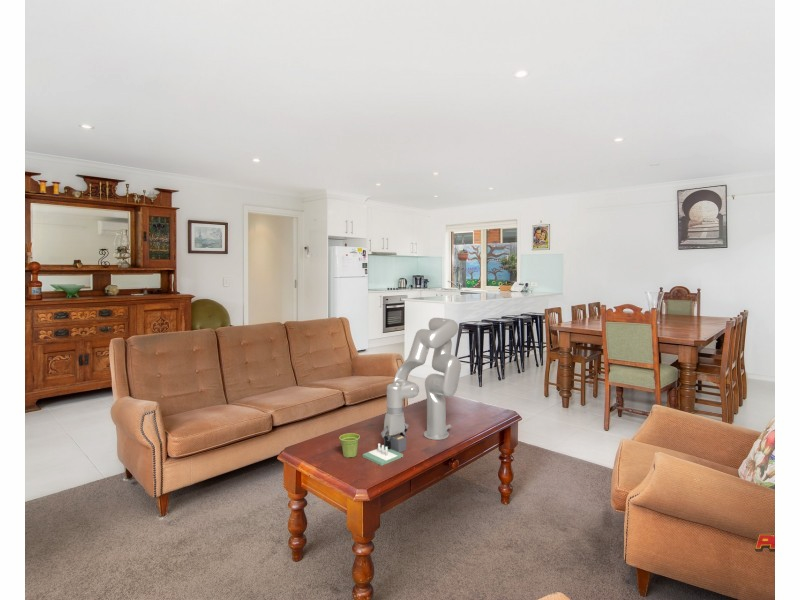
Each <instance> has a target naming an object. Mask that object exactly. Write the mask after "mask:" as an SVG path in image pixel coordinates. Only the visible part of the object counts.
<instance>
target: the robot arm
mask: <svg viewBox="0 0 800 600" xmlns="http://www.w3.org/2000/svg"><path fill="white" fill-rule="evenodd" d="M458 330H459V325H458V323H457V321H456V320H453V319H450V318H443V317H432V318H430V319H429V321H428V329H426V328H421V329H418V330H417V331H416V332H415V335H414V338H413V341H412V345H411V348H410V351H409V354H408V357H407V359H405V360H404V361H403V363H402V364H401V365H400V366H399V367H398V368H397V370H396V372H395V375H394V378H393V380H392V381H393V382H391V383H388V384H387V385H386V413H385V416H384V419H383V420H384V421H383V424H384V425H383V430H382V431H381V432H380V435H381V437H382V439H383V441H384V440H385V447H386V446H387V447H388V449H391V441H390V439H391V436H393V435H396V434H398V435H401V436H404V437H406V435H407V431H408V428H409V424H408V423H406V418H405V414H404V413H405V412H404V407H405V406H404V401H403V400H404V399H413V398H415V397H417V396H418V395H419V393H420V388H419V387H420V386H419V385H418V384H417V383H416V382H413V381H411V380H407V379H408V376H409V375H410V373H411V372H412V371H413V370H414V369H416V368H418V367H420V366H424V365H425V363H426V360H427V356H428V353H429V350H430V349H434V350H433V355H432V359H431V360H432V361H431V368H432V369H433V370H434V371H436V372H438V373H430V374H428V375H427V377H426V378H425V381H424V388H425V393H426V394H425V395H426V430H425V431H424V432H423V436H424V438H426V439H429V440H433V441H439V440H440V441H441V440H445V439H448V438H449V435H450V433H449V431H448V429H451V428H452V425H451V423H449V424H446V422H447V417H446V416H447V413H446V412H447V411H446V409H447V407H446V406H447V405H446V404H447V401H446V398H451V397H454V395H455V393H456V392H457V389H458V386H459V385H458V384H459V381H460V376H461V375H460V374H461V369H462V364H461V363H462V362H461V360H460V358H459V357H458V356H456V355H453V354H452V349H453V348H452V347H453V341H452V338H454V337H455V336H456V335H457V334H458ZM439 373H442V374H443V375H442V374H439ZM385 434H386V435H385ZM388 435H389V437H388ZM387 437H388V438H387Z"/></svg>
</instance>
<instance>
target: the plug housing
mask: <svg viewBox="0 0 800 600" xmlns="http://www.w3.org/2000/svg"><path fill="white" fill-rule="evenodd" d="M385 435H386V434H385ZM388 437H389V435H388ZM388 437H387V438H388ZM390 441H391V449H392V450H394V451H396V452H399V453H402V452H404V451H406V450H407V437H406V436H405V437H404V436H401V435H399V434H396V435H393V436H391V439H390ZM383 445H384V446H385V440H384V439H383Z"/></svg>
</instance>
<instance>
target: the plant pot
mask: <svg viewBox="0 0 800 600" xmlns="http://www.w3.org/2000/svg"><path fill="white" fill-rule="evenodd" d="M338 438H339V440H340V444H341V449H342V454H343V457H344V458H347V459H348V458H355V457H357V455H358V448H359V447H358V445H359V441H360V438H361V437H360V434H357V433H354V432H350V433H349V432H348V433H343V434H341V435H340V436H339V437H338Z"/></svg>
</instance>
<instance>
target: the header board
mask: <svg viewBox="0 0 800 600" xmlns="http://www.w3.org/2000/svg"><path fill="white" fill-rule="evenodd" d="M401 457H402V458H403V457H404V454H403V453H402V452H400V453H399V452H396V451H394V450H392V449H388V447H387V446H386V447H385V446H384V444H381V443H380V442H379V443H377V448H376V449H372V450H370V451H367V452H365V453H362V458H365V459H366V460H369V461H371V462H372V463H375V464H377V465H379V466H381V467H382V466H385V465H388V464H390V463H392V462H394V461H396V460H399V459H401Z"/></svg>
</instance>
